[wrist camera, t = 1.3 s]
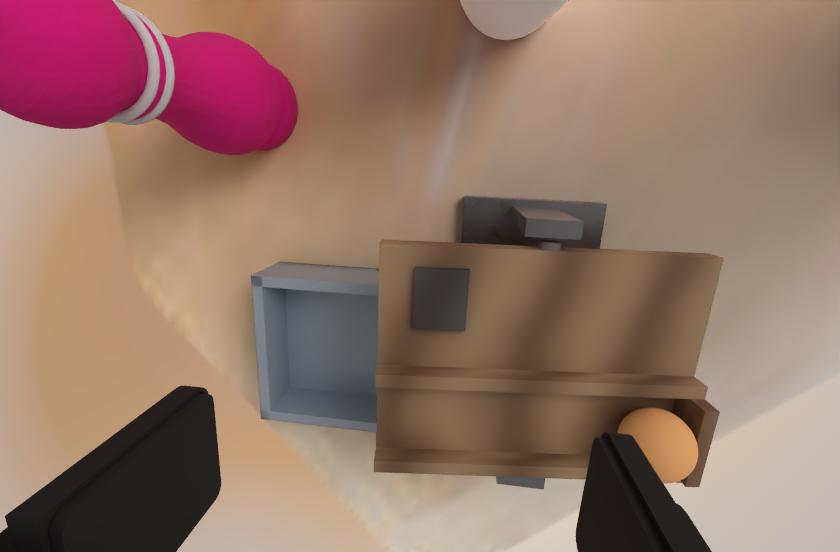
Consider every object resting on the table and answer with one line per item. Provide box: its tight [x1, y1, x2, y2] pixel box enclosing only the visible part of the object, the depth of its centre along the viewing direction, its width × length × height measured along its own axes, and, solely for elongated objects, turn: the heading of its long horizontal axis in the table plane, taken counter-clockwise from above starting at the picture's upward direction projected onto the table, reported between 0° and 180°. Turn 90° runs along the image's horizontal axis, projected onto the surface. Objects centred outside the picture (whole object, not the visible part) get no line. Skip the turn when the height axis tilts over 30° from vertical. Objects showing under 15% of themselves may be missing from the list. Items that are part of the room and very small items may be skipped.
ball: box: [617, 407, 698, 483], centre depth 23 cm, size 4×4×4 cm
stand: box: [461, 196, 607, 489], centre depth 28 cm, size 10×18×9 cm, turn 178°
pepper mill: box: [0, 0, 297, 155], centre depth 21 cm, size 7×7×20 cm
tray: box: [374, 240, 723, 487], centre depth 23 cm, size 19×15×4 cm
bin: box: [251, 262, 379, 432], centre depth 32 cm, size 13×12×4 cm
